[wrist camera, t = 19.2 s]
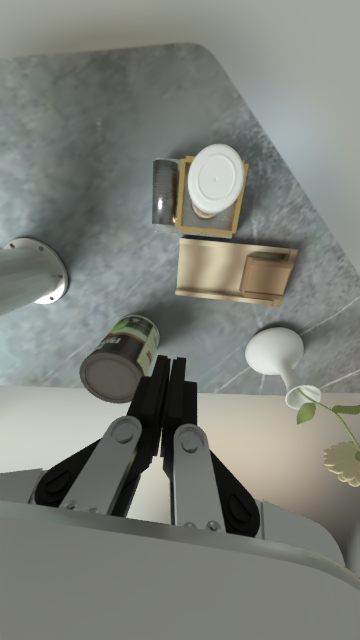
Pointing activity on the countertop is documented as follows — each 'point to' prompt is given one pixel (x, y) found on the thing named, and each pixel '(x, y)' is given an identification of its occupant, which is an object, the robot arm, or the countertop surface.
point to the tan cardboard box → (265, 277)
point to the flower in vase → (303, 393)
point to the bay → (221, 268)
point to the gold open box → (187, 202)
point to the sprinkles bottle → (215, 180)
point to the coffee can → (121, 360)
